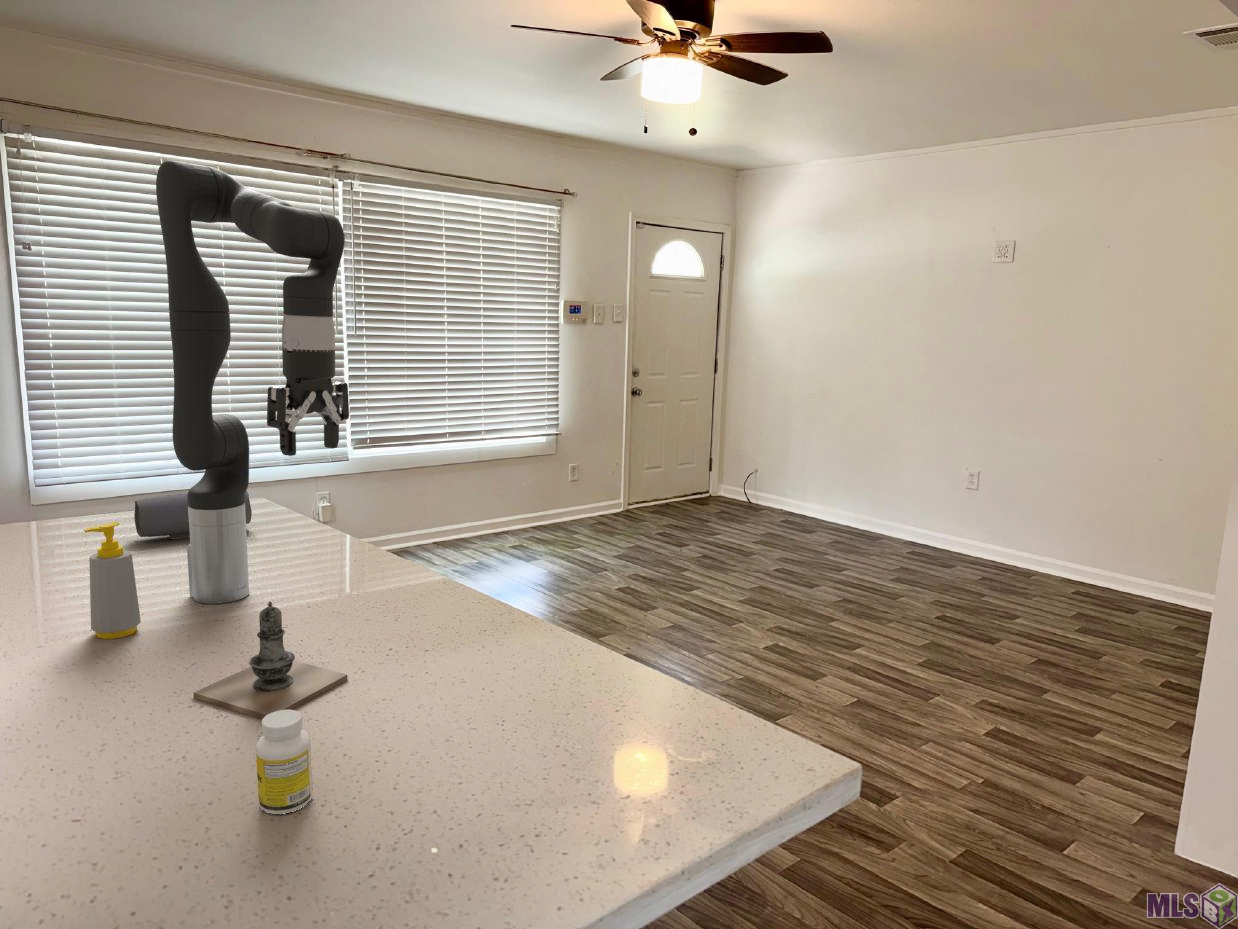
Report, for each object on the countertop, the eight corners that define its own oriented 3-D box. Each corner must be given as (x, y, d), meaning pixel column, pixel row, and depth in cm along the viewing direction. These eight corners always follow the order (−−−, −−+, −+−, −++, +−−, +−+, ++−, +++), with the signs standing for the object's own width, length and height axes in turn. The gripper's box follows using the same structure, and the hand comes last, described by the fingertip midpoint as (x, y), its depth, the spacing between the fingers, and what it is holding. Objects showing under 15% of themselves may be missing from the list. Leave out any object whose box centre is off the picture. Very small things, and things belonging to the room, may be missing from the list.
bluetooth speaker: (241, 524, 199) (240, 484, 197) (253, 532, 192) (251, 491, 190) (135, 537, 184) (132, 494, 182) (143, 547, 177) (140, 502, 175)
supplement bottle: (268, 788, 90) (264, 706, 89) (318, 787, 91) (316, 705, 89) (250, 817, 85) (246, 731, 83) (304, 816, 86) (301, 730, 84)
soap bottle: (81, 635, 130) (72, 525, 126) (125, 621, 136) (117, 516, 132) (107, 644, 126) (98, 532, 123) (150, 630, 133) (143, 523, 129)
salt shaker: (303, 675, 116) (300, 595, 114) (282, 694, 111) (279, 610, 108) (264, 672, 117) (261, 592, 115) (241, 690, 111) (237, 607, 109)
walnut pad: (193, 698, 110) (193, 692, 110) (275, 660, 123) (274, 655, 123) (270, 721, 105) (270, 716, 105) (347, 679, 117) (347, 674, 117)
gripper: (325, 343, 131) (326, 443, 134) (252, 345, 119) (255, 454, 122) (361, 347, 128) (361, 448, 131) (290, 348, 115) (292, 460, 118)
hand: (310, 451), depth 126 cm, fingers open, 8 cm apart
